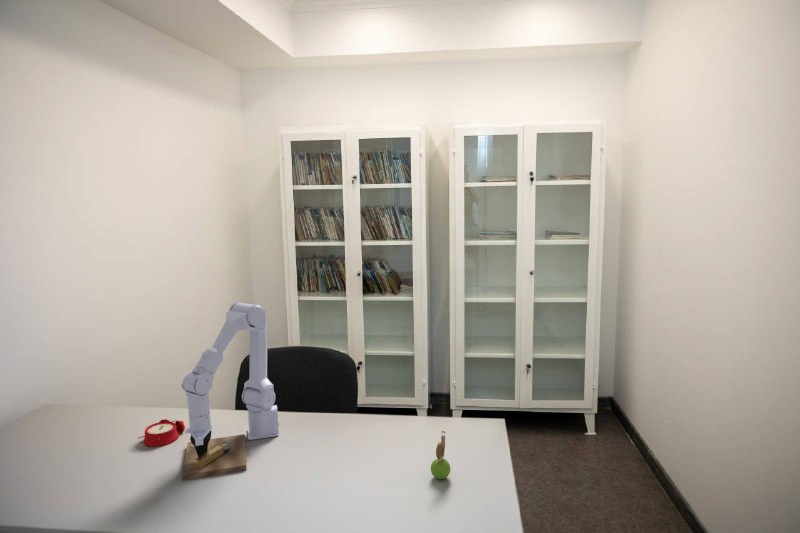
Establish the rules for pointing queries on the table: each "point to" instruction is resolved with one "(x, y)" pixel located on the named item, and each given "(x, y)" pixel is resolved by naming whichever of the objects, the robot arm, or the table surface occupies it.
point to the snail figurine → (440, 461)
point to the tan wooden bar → (212, 454)
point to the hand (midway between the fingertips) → (202, 457)
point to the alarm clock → (162, 432)
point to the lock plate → (220, 465)
